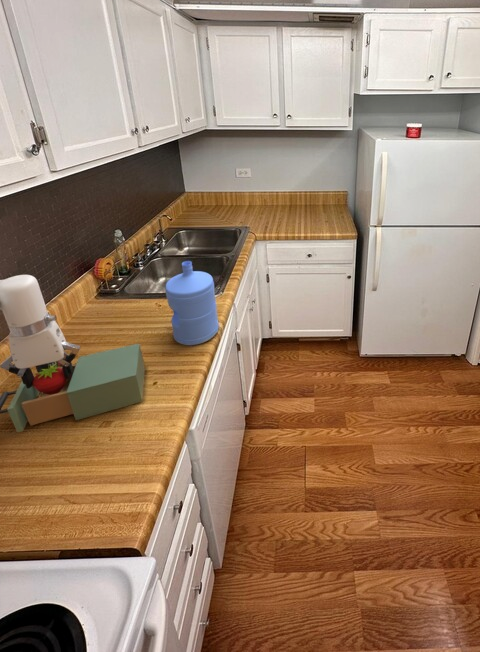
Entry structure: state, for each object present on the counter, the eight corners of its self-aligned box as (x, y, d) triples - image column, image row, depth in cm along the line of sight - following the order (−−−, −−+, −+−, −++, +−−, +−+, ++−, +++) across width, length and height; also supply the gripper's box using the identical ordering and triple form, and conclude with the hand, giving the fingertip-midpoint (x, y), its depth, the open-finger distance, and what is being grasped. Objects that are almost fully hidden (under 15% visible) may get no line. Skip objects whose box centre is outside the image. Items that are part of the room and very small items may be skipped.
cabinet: (75, 420, 87) (66, 393, 83) (86, 382, 98) (78, 356, 95) (142, 401, 92) (135, 375, 89) (145, 367, 104) (139, 343, 100)
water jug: (224, 319, 127) (217, 253, 117) (211, 347, 113) (202, 275, 103) (184, 318, 128) (173, 252, 117) (165, 346, 113) (152, 274, 103)
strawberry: (45, 387, 91) (35, 359, 87) (76, 383, 92) (67, 355, 89) (33, 406, 86) (21, 376, 82) (66, 401, 87) (56, 371, 83)
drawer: (-8, 439, 80) (-20, 416, 78) (12, 399, 91) (3, 378, 88) (85, 413, 88) (78, 391, 85) (94, 379, 98) (88, 358, 95)
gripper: (76, 308, 87) (91, 361, 93) (-9, 323, 81) (14, 378, 87) (69, 324, 81) (86, 380, 87) (-24, 342, 74) (2, 401, 81)
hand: (50, 379), depth 87 cm, fingers closed on strawberry, 7 cm apart
